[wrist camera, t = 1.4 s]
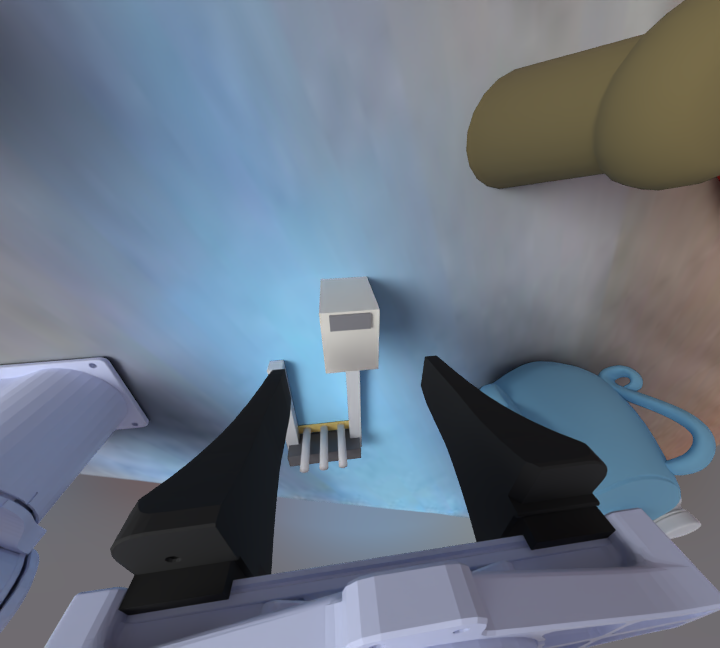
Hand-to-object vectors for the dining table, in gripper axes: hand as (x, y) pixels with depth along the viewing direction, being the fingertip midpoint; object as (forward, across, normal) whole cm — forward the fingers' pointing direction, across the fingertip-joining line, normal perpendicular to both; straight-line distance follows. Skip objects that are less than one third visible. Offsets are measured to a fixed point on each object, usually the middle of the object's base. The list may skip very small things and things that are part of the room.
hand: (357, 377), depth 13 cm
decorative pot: (+9, -19, +14) cm, 25 cm away
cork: (+9, -11, -11) cm, 18 cm away
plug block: (+9, 0, 0) cm, 9 cm away
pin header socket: (+8, +3, +12) cm, 15 cm away
